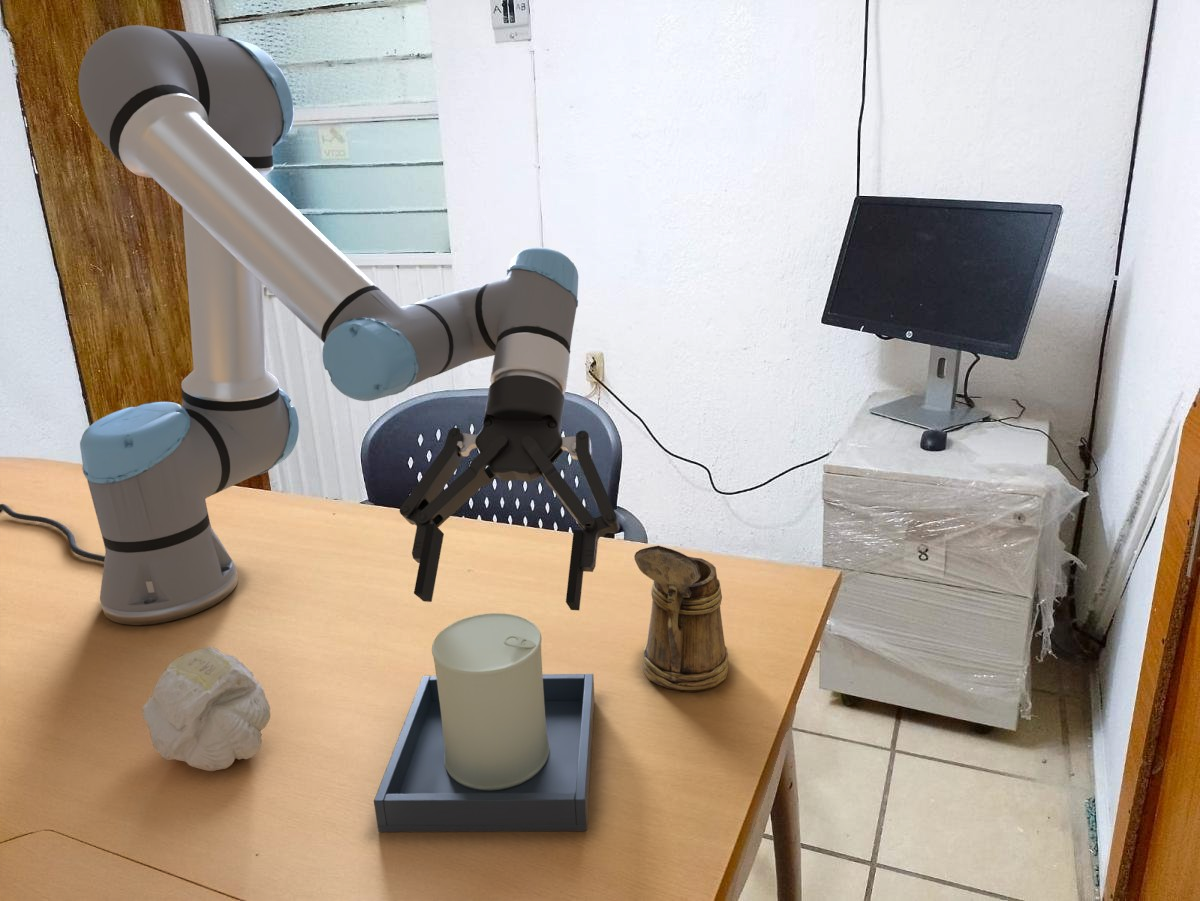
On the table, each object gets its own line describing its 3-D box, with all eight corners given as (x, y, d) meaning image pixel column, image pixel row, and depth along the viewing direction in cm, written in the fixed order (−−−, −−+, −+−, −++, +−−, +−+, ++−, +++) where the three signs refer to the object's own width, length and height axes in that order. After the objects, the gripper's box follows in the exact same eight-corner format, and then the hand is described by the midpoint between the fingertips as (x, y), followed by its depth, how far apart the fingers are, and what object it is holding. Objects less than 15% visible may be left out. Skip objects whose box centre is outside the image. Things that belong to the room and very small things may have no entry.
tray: (378, 832, 66) (373, 801, 65) (425, 702, 81) (422, 675, 80) (586, 831, 65) (585, 799, 64) (594, 700, 81) (593, 673, 80)
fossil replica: (234, 798, 70) (301, 730, 79) (229, 712, 68) (298, 653, 77) (113, 769, 73) (192, 707, 82) (103, 685, 70) (186, 631, 80)
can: (533, 797, 68) (523, 672, 64) (428, 784, 70) (412, 662, 66) (560, 725, 76) (553, 611, 72) (466, 715, 78) (454, 603, 74)
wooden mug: (614, 710, 79) (608, 540, 73) (657, 636, 91) (655, 484, 85) (705, 729, 76) (707, 553, 70) (737, 650, 88) (741, 494, 82)
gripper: (656, 411, 83) (641, 620, 74) (419, 406, 87) (378, 605, 78) (650, 372, 76) (633, 598, 67) (394, 369, 80) (345, 582, 71)
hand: (496, 602), depth 73 cm, fingers open, 13 cm apart
